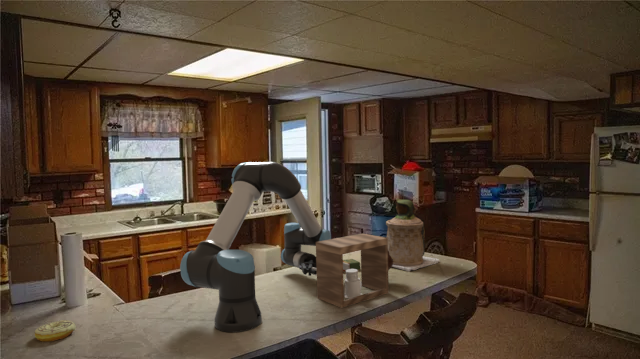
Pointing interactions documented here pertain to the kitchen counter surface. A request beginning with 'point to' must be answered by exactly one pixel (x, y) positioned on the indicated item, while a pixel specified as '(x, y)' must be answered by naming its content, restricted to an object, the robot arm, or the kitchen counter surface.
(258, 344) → the kitchen counter surface
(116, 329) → the kitchen counter surface
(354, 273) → the downlight
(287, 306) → the kitchen counter surface
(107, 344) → the kitchen counter surface
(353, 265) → the carton
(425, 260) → the cookie jar
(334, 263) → the counter shelf
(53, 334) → the decorated donut
